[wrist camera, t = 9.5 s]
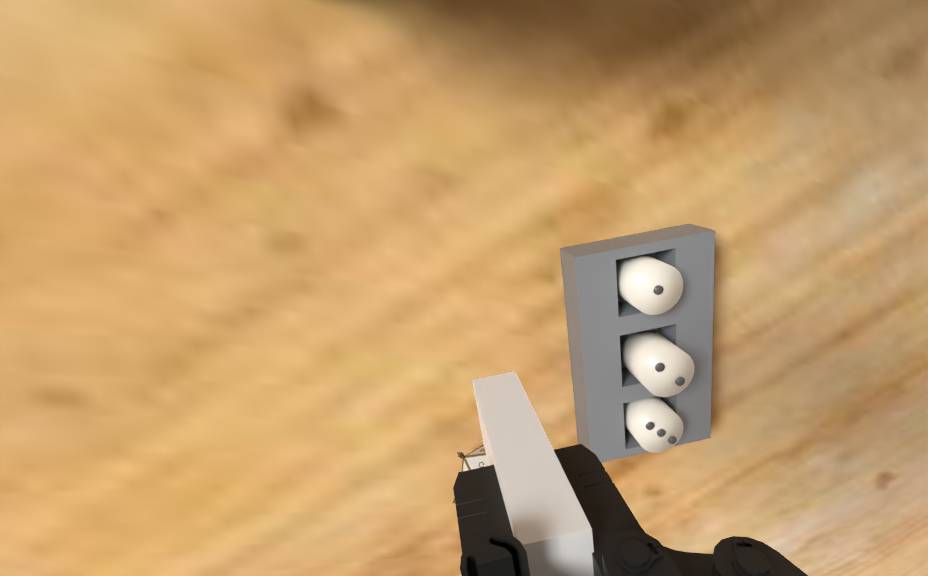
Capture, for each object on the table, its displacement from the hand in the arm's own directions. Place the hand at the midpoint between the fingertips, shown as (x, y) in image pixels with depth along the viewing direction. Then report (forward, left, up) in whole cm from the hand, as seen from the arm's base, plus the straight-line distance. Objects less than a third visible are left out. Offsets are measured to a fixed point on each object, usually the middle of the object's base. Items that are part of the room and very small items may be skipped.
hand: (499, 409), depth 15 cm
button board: (+15, +19, -29) cm, 38 cm away
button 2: (+15, +19, -27) cm, 36 cm away
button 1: (+7, +19, -28) cm, 35 cm away
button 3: (+23, +19, -28) cm, 41 cm away
